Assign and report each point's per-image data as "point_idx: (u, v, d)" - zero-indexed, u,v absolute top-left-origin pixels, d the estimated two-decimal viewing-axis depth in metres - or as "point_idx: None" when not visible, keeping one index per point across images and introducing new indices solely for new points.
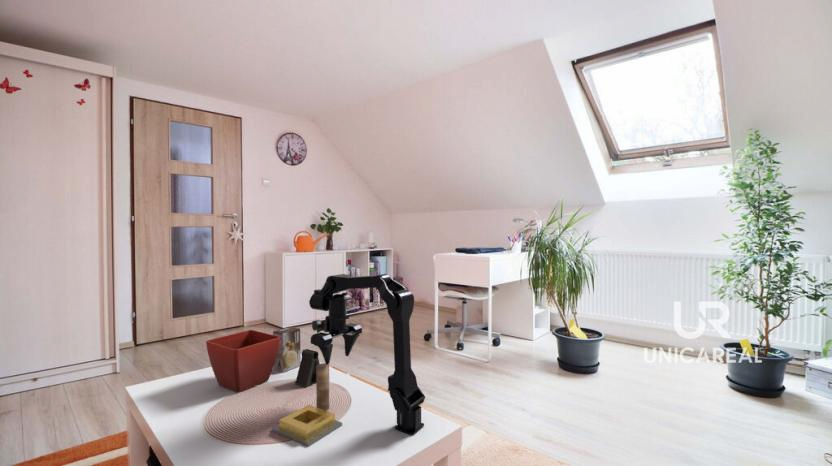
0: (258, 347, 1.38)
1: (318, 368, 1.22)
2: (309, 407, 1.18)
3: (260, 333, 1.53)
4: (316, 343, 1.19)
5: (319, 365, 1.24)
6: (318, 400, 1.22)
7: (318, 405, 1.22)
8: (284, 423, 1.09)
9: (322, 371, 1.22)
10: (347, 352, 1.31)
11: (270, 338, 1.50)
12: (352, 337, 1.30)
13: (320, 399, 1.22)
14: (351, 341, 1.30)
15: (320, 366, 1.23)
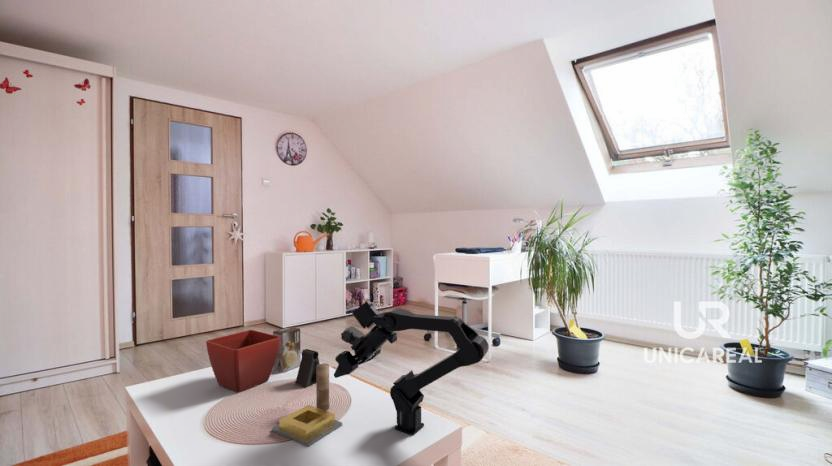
0: (258, 347, 1.38)
1: (318, 368, 1.22)
2: (309, 407, 1.18)
3: (260, 333, 1.53)
4: (341, 366, 1.10)
5: (319, 365, 1.24)
6: (318, 400, 1.22)
7: (318, 405, 1.22)
8: (284, 423, 1.09)
9: (322, 371, 1.22)
10: None
11: (270, 338, 1.50)
12: (367, 358, 1.23)
13: (320, 399, 1.22)
14: (364, 360, 1.23)
15: (320, 366, 1.23)
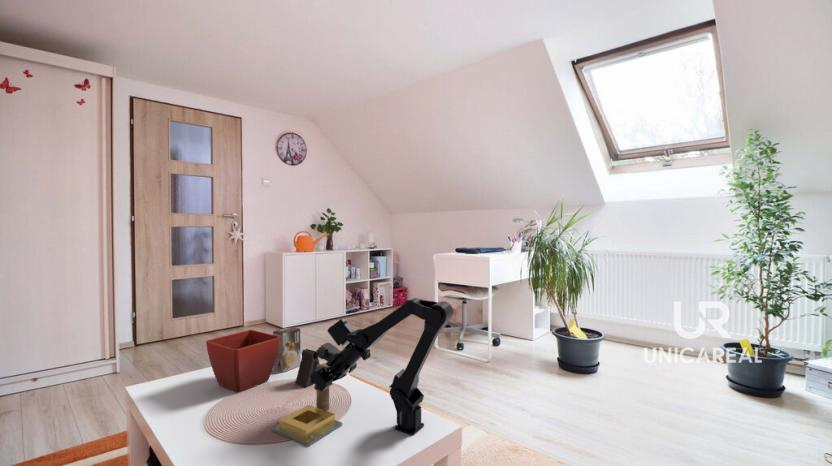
0: (258, 347, 1.38)
1: None
2: (309, 407, 1.18)
3: (260, 333, 1.53)
4: (315, 382, 1.13)
5: (319, 365, 1.24)
6: (318, 400, 1.22)
7: (318, 405, 1.22)
8: (284, 423, 1.09)
9: None
10: None
11: (270, 338, 1.50)
12: None
13: (320, 399, 1.22)
14: (336, 378, 1.25)
15: (320, 366, 1.22)
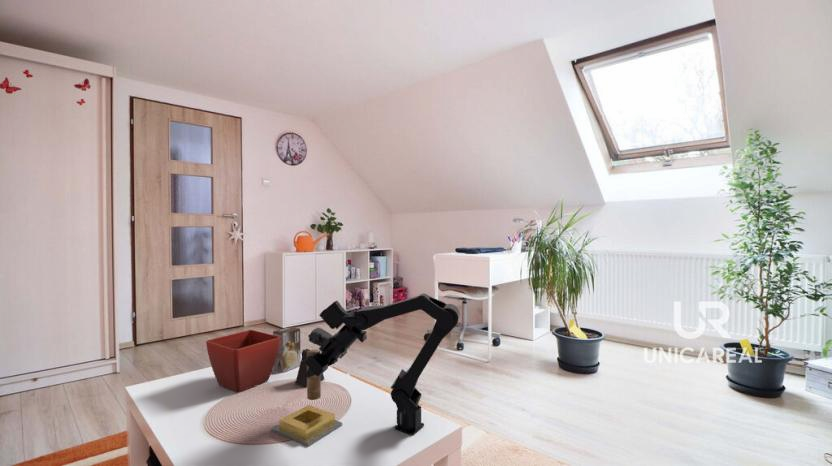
0: (258, 347, 1.38)
1: (309, 354, 1.16)
2: (309, 407, 1.18)
3: (260, 333, 1.53)
4: (311, 368, 1.08)
5: (310, 351, 1.18)
6: (309, 388, 1.16)
7: (310, 393, 1.16)
8: (284, 423, 1.09)
9: None
10: None
11: (270, 338, 1.50)
12: (331, 362, 1.19)
13: (312, 387, 1.16)
14: (327, 364, 1.20)
15: (312, 352, 1.17)
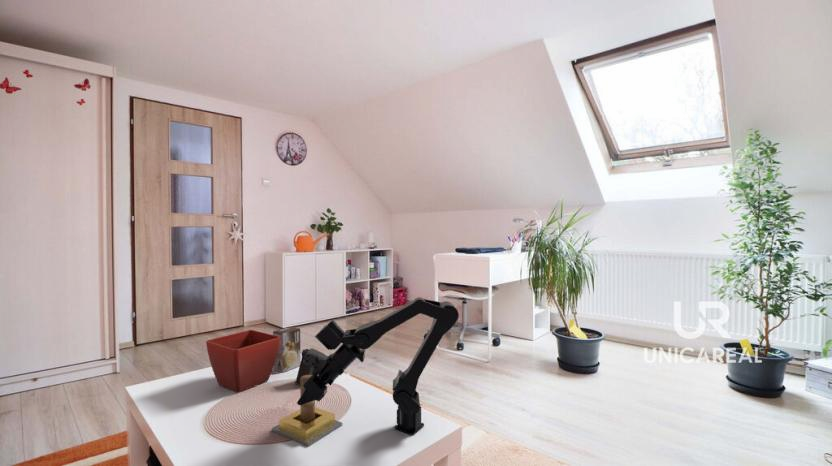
0: (258, 347, 1.38)
1: (304, 381, 1.10)
2: None
3: (260, 333, 1.53)
4: (311, 393, 1.02)
5: (303, 377, 1.12)
6: (304, 416, 1.10)
7: (304, 422, 1.10)
8: (284, 423, 1.09)
9: None
10: None
11: (270, 338, 1.50)
12: None
13: (307, 415, 1.10)
14: None
15: (306, 379, 1.10)
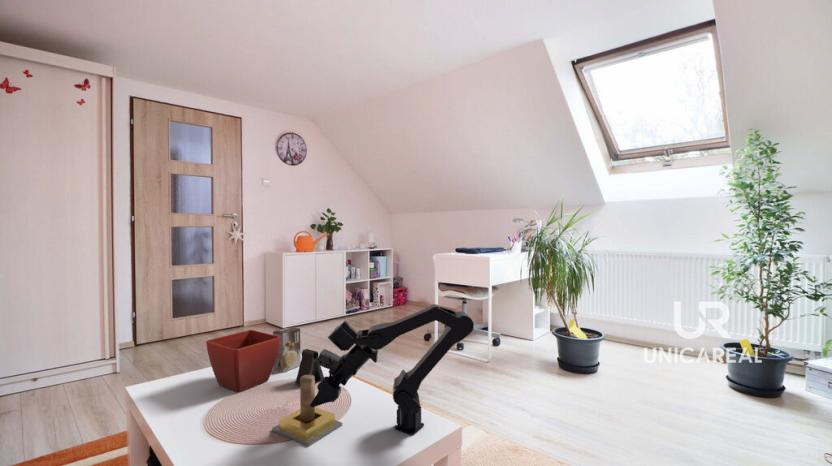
0: (258, 347, 1.38)
1: (304, 381, 1.10)
2: None
3: (260, 333, 1.53)
4: (326, 394, 1.02)
5: (303, 377, 1.12)
6: (304, 416, 1.10)
7: (304, 422, 1.10)
8: (284, 423, 1.09)
9: (309, 383, 1.10)
10: None
11: (270, 338, 1.50)
12: None
13: (307, 415, 1.10)
14: None
15: (306, 378, 1.11)
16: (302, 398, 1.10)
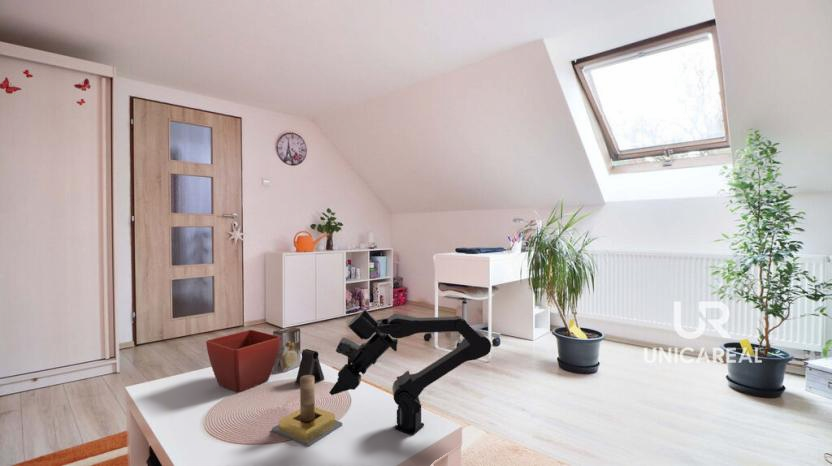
0: (258, 347, 1.38)
1: (304, 381, 1.10)
2: None
3: (260, 333, 1.53)
4: (347, 381, 1.02)
5: (303, 377, 1.11)
6: (304, 416, 1.10)
7: (304, 422, 1.10)
8: (284, 423, 1.09)
9: (309, 383, 1.10)
10: None
11: (270, 338, 1.50)
12: None
13: (307, 415, 1.10)
14: None
15: (306, 379, 1.10)
16: (302, 398, 1.10)
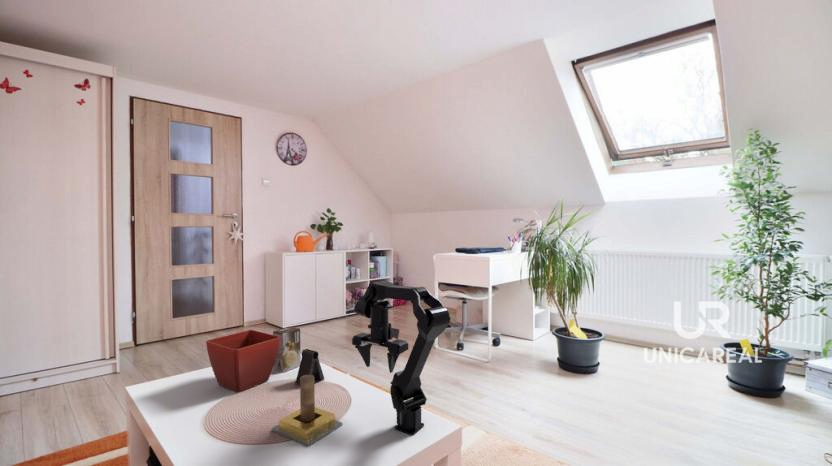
0: (258, 347, 1.38)
1: (304, 381, 1.10)
2: None
3: (260, 333, 1.53)
4: None
5: (303, 377, 1.12)
6: (304, 416, 1.10)
7: (304, 422, 1.10)
8: (284, 423, 1.09)
9: (308, 383, 1.10)
10: None
11: (270, 338, 1.50)
12: None
13: (307, 415, 1.10)
14: None
15: (306, 378, 1.11)
16: (302, 398, 1.10)
